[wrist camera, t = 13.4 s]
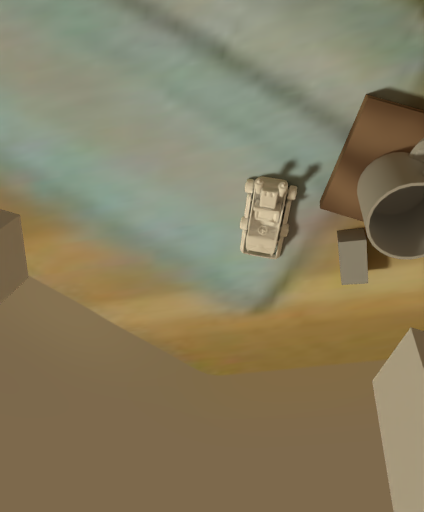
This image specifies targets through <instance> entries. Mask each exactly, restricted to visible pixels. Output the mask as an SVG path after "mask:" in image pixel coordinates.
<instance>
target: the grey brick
mask: <svg viewBox="0 0 424 512" xmlns="http://www.w3.org/2000/svg"><path fill="white" fill-rule="evenodd" d="M337 237H338V248H339V260H340V272H341V281H342V285H346V284H364V283H368V265H367V241H366V236H365V232H364V228H360V229H350V230H341V231H337Z"/></svg>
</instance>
